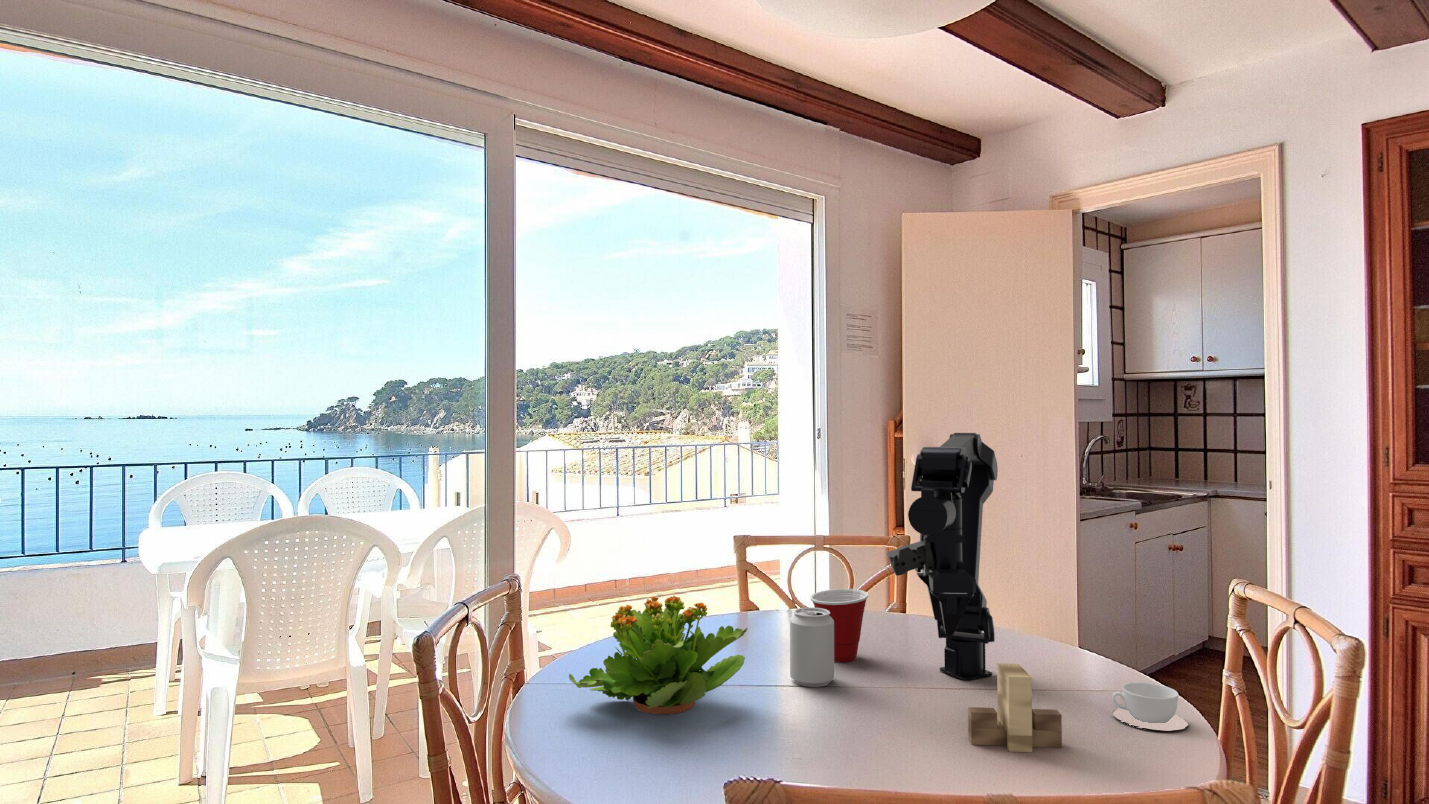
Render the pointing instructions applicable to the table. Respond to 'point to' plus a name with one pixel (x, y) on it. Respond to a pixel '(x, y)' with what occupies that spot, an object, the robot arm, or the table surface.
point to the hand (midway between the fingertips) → (943, 627)
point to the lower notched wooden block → (991, 733)
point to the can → (812, 647)
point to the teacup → (1148, 701)
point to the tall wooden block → (1015, 706)
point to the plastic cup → (843, 619)
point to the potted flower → (663, 658)
